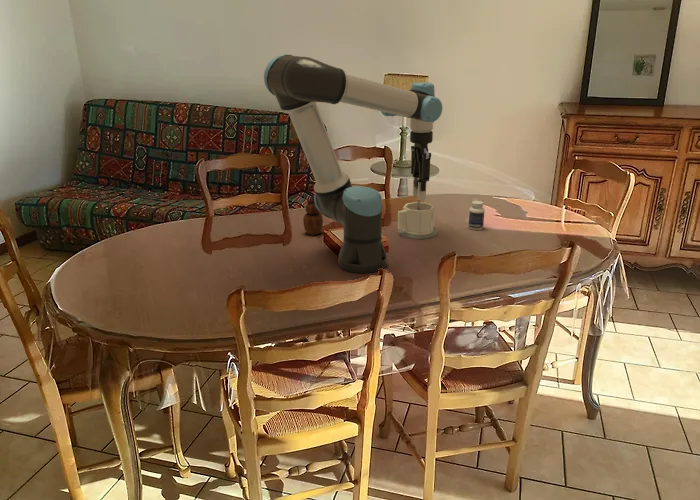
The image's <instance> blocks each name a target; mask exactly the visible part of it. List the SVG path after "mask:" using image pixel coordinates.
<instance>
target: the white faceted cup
mask: <svg viewBox="0 0 700 500" xmlns="http://www.w3.org/2000/svg"><path fill="white" fill-rule="evenodd" d="M417 203H418V201H415V202H408V203H405V204H404V206H403V207H402V210H397V231H398V232H397V233H398V234H399V235H400V236H401V237H404V238H406V239H411V240H412V239H414V240H427V239H428V240H429V239H432V238H435V237H436V236H438V232H439V231H438V229H437V228H435V227H434V225H435V224H434V222H435V205H433V204H430V203H429V202H421V201H420V211H419V210H417Z"/></svg>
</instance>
